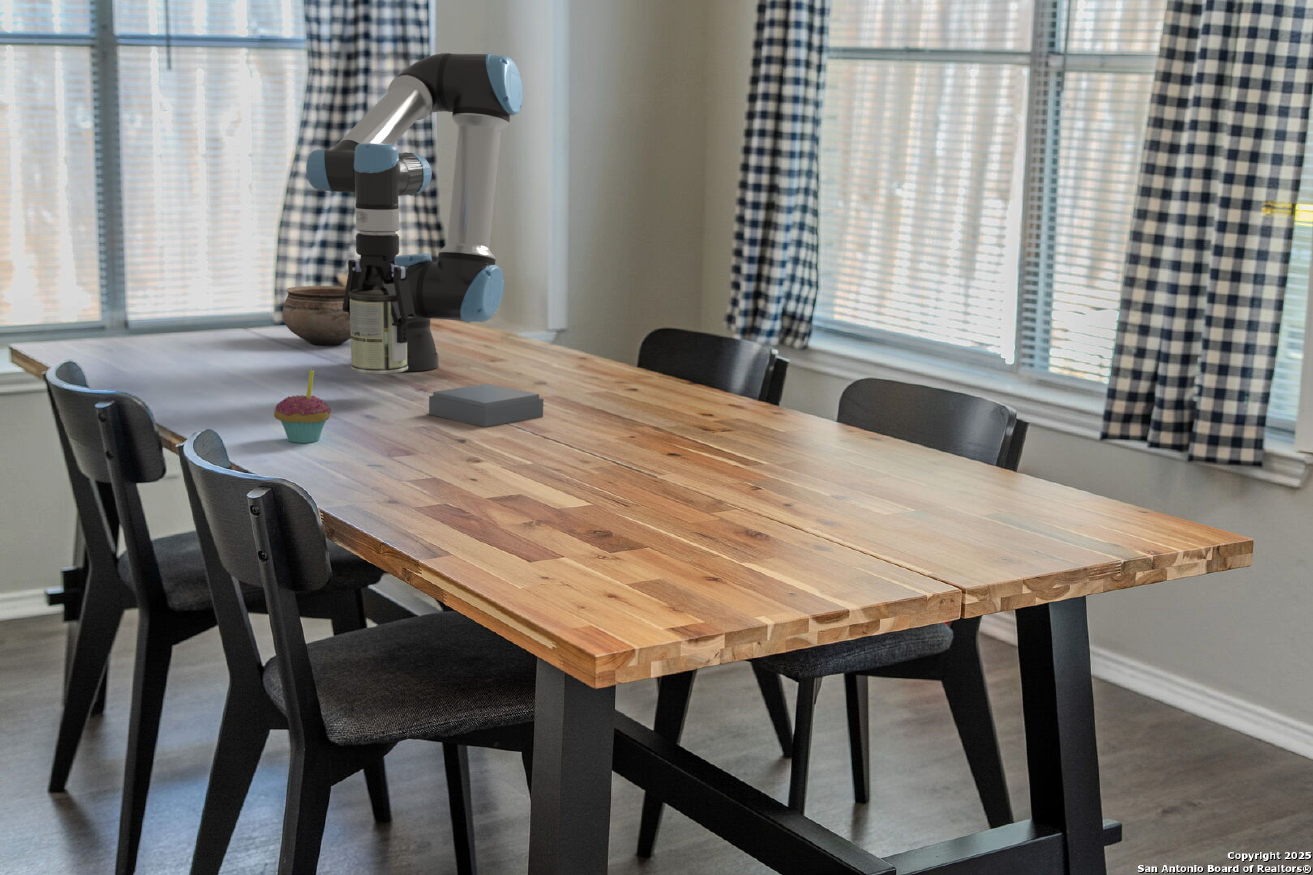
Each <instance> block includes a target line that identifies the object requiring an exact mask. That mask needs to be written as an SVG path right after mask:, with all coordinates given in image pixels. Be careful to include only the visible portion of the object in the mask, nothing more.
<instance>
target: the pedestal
mask: <svg viewBox="0 0 1313 875" xmlns="http://www.w3.org/2000/svg"><path fill="white" fill-rule="evenodd" d="M432 394H433V395H429V396H428V400H429V401H428V414H429V415H431V416H435V417H440V418H445V419H449V420H453V421H457V422H460V423H465V424H471V425H474V426H477V427H478V426H479V427H482V428H489V427H494V426H499V425H505V424H511V423H515V422H516V423H517V422H521V421H527V420H532V419H537V418H543V417H544V398H541V397H540V394H539V393H535V392H529V391H526V390H521V389H515V388H511V387H505V386H501V385H495V384H491V383H483V384H476V385H471V386H470V385H469V386H463V387H456V388H449V389H448V388H447V389H442V390H435V391H433V392H432Z"/></svg>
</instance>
